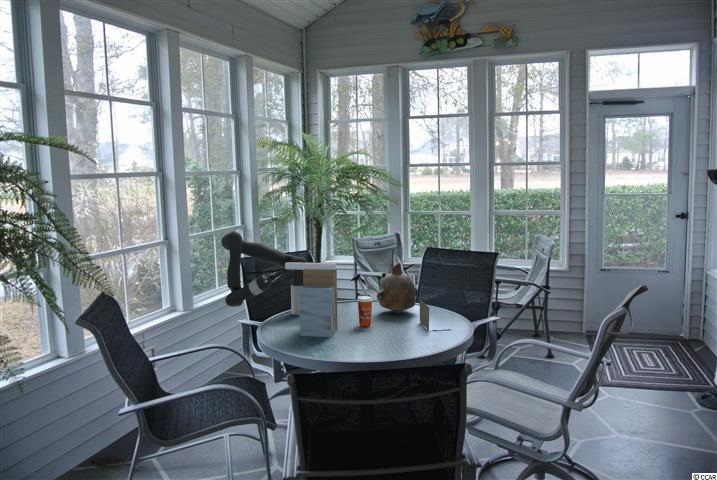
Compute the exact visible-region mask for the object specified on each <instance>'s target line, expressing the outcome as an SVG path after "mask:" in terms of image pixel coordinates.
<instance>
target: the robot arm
mask: <svg viewBox="0 0 717 480" xmlns="http://www.w3.org/2000/svg"><path fill="white" fill-rule="evenodd" d="M220 242H221V246H222V248H223V249H224V250H227V251H229V261H228V265H227V271H226V284H227V288H228V289H229V290H230V292H229V293H228V294H227V295H226V296H225V300H224V301H225V304H226V305H227V306H229V307H240V306H242V305H243V303H244V301H246V300H249V299H252V298H253V297H256V296H257V295H259V294H261V293H264V292H265V291H266V290H268V289H271V286H272V283H273V282H275V281H276V280H277V279H279V278H280V277H281V276H283V275H284V274H285V273H287V272H289V271H291V272H293V274H292V275H293V276H292V277H293V278H292V279H291V280H290V294H291V295H290V298H291V299H290V302H291V303H290V308H291V316H300V310H299V288H301V287H302V286H303V270H301V269H285V263H287V262H293V263H309V262H308V260H307V259H306V258H305V257H301V256H297V255H296V256H295V255H291V254H288V253H284V252H282V251H280V250H279V249H277V248H275V247H273V246H270V245H267V244H264V243H260V242H259V243H258V242H252V241H248V240H244V239H243V236H242V235H241V234H240V233H239V232H237V231H234V232H233V231H232V232H229V233H226V234H225V235H224V236H222V238H221V241H220ZM242 254H243V255H246V256H248V257H251V258H254V259H256V260H258V261H260V262H264V263H268V264H270V265H277V266H280V267H283V269H281V270H279V271H275V272H273V273H271V274H268V275H265V274H262V275H260V276H259V277H257V278H255V279H254V280H252V281H251V282H249V283H247V284H246V285H245V286H243V287H242V285H241V283H242V282H241V263H242Z"/></svg>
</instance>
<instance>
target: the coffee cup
mask: <svg viewBox="0 0 717 480" xmlns="http://www.w3.org/2000/svg"><path fill="white" fill-rule="evenodd" d="M356 301H357V306H358V307H357V308H358V309H357V311H358V321H359V322H358V323H359V324H358V325H359V327H364V326H367V327H371V324H372V310H373V309H372V308H373V298H372V297H371V296H366V295H365V296H362V295H361V296H359V297H358V298H357V299H356Z"/></svg>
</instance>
